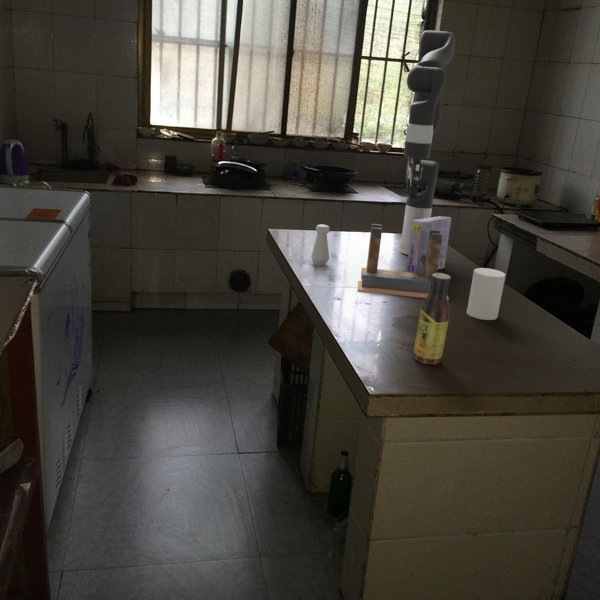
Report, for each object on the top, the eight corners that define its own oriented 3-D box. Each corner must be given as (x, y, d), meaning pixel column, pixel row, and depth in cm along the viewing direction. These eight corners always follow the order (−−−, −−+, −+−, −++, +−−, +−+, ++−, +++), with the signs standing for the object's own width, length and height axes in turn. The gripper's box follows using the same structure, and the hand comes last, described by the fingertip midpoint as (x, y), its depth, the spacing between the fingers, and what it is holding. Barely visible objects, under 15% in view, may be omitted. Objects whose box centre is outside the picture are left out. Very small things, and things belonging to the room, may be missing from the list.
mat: (444, 290, 195) (444, 289, 194) (448, 300, 186) (448, 298, 186) (358, 282, 196) (358, 280, 196) (358, 291, 188) (358, 289, 187)
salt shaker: (329, 262, 214) (332, 224, 210) (328, 267, 209) (331, 228, 205) (311, 261, 215) (314, 222, 210) (309, 265, 209) (313, 226, 205)
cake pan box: (434, 264, 223) (441, 213, 218) (447, 268, 220) (455, 216, 214) (403, 273, 209) (411, 219, 204) (417, 277, 206) (425, 222, 200)
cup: (498, 312, 179) (506, 271, 175) (496, 322, 172) (504, 278, 168) (468, 307, 181) (475, 266, 178) (465, 316, 174) (472, 273, 170)
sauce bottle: (409, 354, 146) (422, 269, 140) (436, 355, 147) (450, 271, 141) (417, 366, 140) (430, 278, 134) (445, 367, 141) (459, 280, 134)
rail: (442, 292, 192) (444, 280, 191) (444, 295, 189) (445, 283, 187) (361, 283, 193) (362, 272, 192) (361, 286, 190) (362, 275, 189)
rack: (436, 279, 205) (444, 230, 200) (439, 287, 198) (447, 236, 193) (361, 272, 207) (366, 222, 202) (361, 279, 199) (367, 228, 194)
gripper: (434, 144, 180) (426, 202, 186) (429, 138, 193) (421, 192, 199) (407, 142, 180) (400, 200, 186) (403, 136, 194) (397, 190, 199)
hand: (411, 196), depth 192 cm, fingers open, 8 cm apart
